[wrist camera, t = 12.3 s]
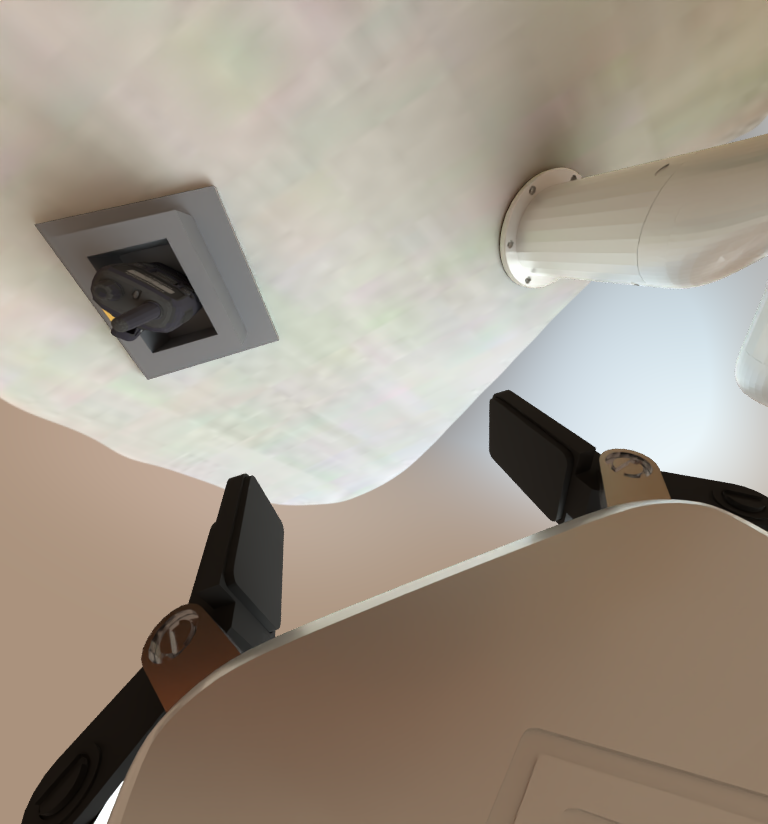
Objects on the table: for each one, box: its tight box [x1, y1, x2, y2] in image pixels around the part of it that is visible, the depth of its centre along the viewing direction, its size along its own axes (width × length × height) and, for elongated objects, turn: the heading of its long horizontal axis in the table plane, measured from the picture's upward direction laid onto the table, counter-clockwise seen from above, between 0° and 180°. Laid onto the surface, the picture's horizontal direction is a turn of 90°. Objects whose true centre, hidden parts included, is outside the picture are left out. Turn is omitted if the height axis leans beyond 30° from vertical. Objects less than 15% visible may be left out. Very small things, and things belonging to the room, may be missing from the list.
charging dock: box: [35, 186, 279, 380], centre depth 26 cm, size 14×14×6 cm
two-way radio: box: [90, 262, 202, 341], centre depth 22 cm, size 6×4×15 cm
